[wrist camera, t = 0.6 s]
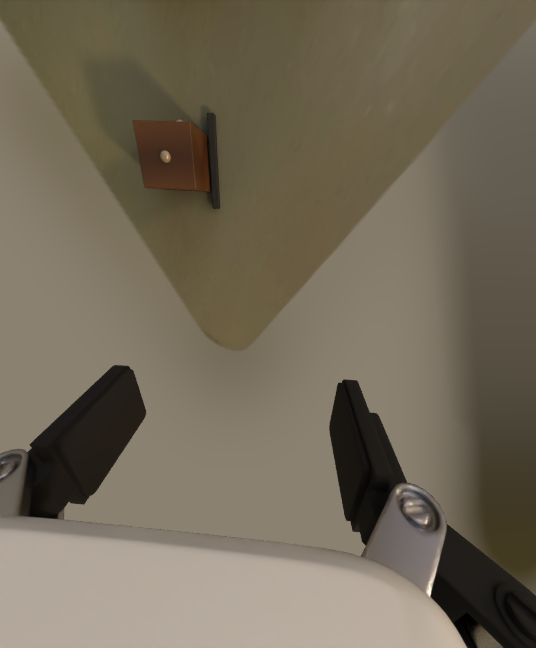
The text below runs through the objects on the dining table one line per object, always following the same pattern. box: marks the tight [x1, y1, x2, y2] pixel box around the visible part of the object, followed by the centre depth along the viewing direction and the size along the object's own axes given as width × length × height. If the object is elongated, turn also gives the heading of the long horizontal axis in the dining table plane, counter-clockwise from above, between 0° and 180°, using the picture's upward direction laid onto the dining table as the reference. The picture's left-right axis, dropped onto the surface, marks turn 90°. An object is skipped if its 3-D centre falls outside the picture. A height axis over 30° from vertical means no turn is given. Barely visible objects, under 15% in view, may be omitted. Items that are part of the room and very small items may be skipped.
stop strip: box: [207, 113, 220, 209], centre depth 30 cm, size 10×1×1 cm, turn 178°
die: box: [133, 120, 211, 192], centre depth 28 cm, size 6×6×6 cm
